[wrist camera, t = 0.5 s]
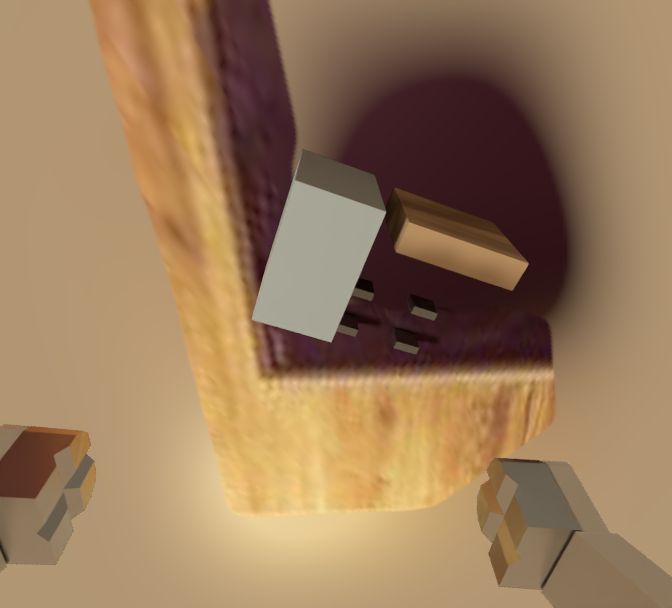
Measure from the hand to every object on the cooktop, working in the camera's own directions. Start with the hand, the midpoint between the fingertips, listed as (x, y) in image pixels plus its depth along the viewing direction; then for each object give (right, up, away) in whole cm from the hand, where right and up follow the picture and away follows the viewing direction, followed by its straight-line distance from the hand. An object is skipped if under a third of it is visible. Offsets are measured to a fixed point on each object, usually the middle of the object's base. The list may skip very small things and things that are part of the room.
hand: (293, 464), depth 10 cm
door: (+12, +13, +43) cm, 46 cm away
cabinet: (-1, +12, +43) cm, 44 cm away
